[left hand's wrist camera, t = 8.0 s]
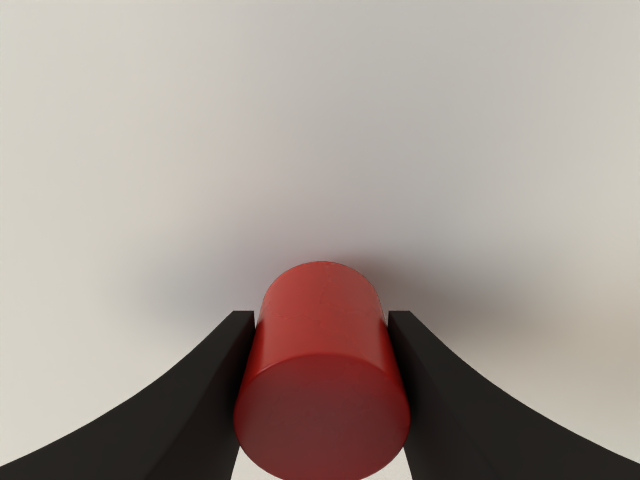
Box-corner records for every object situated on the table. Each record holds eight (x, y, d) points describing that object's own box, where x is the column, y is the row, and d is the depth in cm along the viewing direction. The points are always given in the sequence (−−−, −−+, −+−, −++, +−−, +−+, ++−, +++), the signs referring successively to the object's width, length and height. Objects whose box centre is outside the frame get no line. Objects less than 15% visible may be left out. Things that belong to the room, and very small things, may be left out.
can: (237, 318, 13) (196, 431, 8) (316, 236, 12) (314, 318, 7) (325, 381, 14) (327, 510, 9) (405, 310, 12) (449, 420, 8)
